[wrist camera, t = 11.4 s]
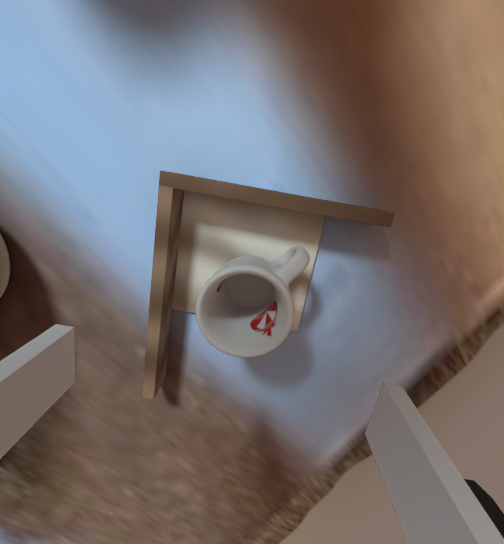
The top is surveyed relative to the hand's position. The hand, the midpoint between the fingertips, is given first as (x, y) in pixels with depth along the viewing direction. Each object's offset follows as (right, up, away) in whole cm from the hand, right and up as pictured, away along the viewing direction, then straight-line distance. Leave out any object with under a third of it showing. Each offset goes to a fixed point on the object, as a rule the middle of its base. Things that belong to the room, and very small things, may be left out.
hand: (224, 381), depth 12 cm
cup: (+2, +4, +18) cm, 19 cm away
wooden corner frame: (+1, +1, +19) cm, 19 cm away
